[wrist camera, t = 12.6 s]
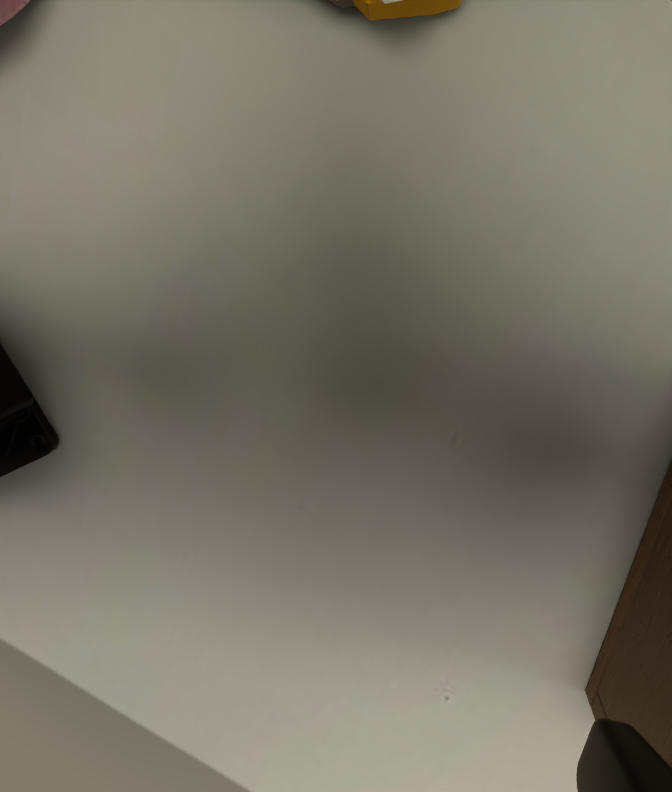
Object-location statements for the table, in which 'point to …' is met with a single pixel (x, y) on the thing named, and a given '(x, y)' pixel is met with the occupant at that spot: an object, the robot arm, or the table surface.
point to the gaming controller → (398, 7)
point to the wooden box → (642, 640)
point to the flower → (10, 9)
